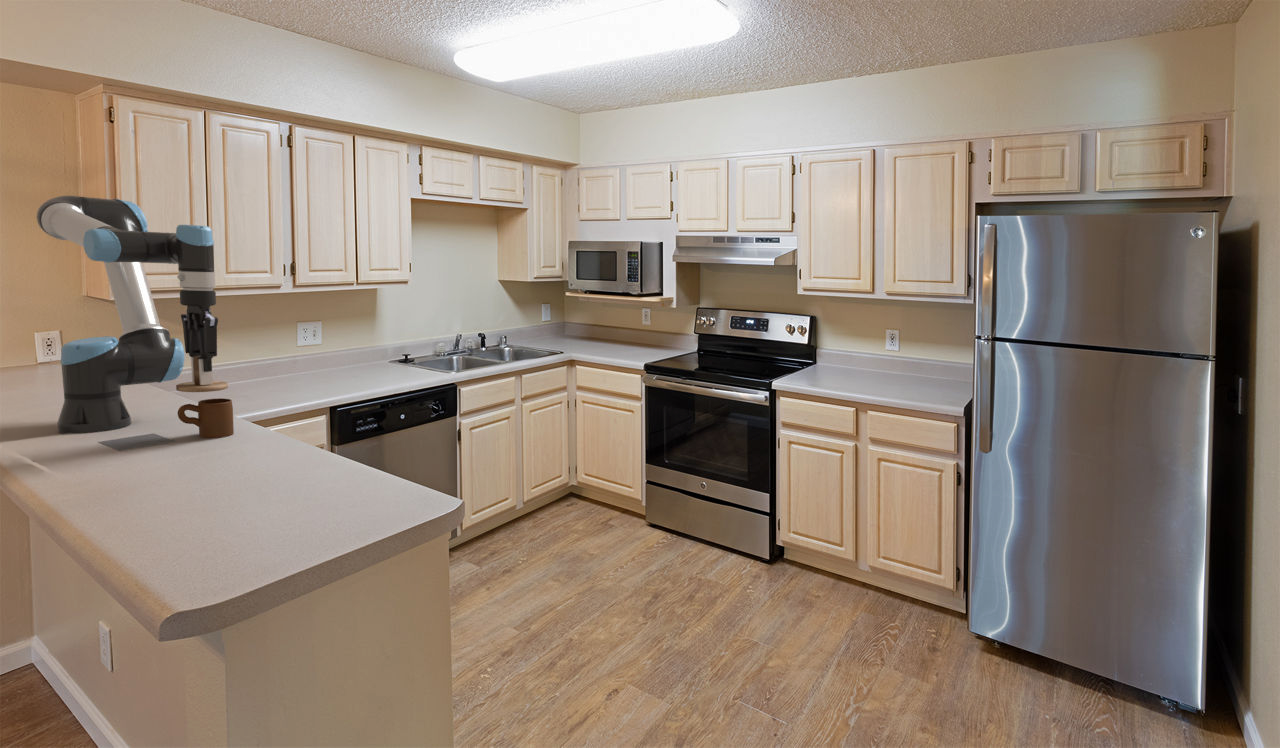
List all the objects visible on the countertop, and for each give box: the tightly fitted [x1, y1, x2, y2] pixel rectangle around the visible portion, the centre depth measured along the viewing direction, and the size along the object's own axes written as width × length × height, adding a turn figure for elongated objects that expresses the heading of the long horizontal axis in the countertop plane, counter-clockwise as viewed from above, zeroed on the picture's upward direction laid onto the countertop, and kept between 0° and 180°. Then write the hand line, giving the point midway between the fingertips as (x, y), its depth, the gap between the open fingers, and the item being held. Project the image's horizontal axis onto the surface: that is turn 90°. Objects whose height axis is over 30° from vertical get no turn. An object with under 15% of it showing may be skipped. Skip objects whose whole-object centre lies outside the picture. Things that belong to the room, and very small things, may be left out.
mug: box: [177, 398, 235, 439], centre depth 178 cm, size 12×8×9 cm, turn 131°
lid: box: [175, 356, 229, 393], centre depth 176 cm, size 11×11×8 cm
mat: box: [97, 433, 177, 452], centre depth 171 cm, size 12×12×1 cm
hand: (202, 383), depth 177 cm, fingers closed on lid, 3 cm apart
